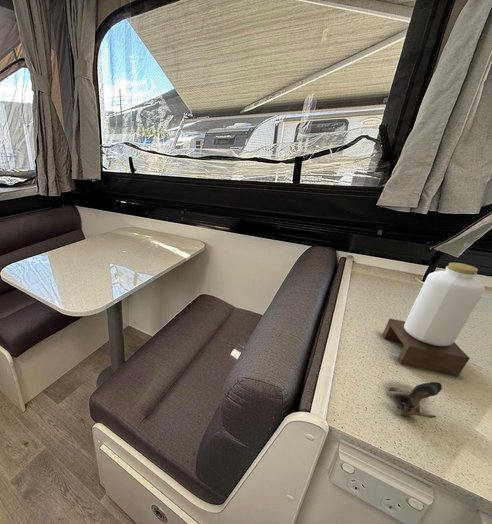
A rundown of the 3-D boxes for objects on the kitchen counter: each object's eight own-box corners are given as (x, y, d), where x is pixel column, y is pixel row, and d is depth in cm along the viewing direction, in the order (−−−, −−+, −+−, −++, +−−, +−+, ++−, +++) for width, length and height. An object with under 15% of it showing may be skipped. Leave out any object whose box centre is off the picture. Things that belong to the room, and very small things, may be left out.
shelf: (429, 346, 68) (440, 327, 65) (456, 379, 59) (470, 358, 56) (381, 337, 71) (389, 318, 69) (398, 366, 62) (409, 346, 60)
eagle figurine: (445, 436, 46) (451, 399, 51) (428, 402, 46) (435, 367, 50) (389, 423, 53) (399, 391, 57) (373, 393, 52) (384, 363, 57)
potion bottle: (418, 322, 67) (451, 256, 60) (461, 344, 60) (505, 272, 52) (393, 328, 65) (424, 260, 58) (435, 351, 58) (477, 278, 50)
